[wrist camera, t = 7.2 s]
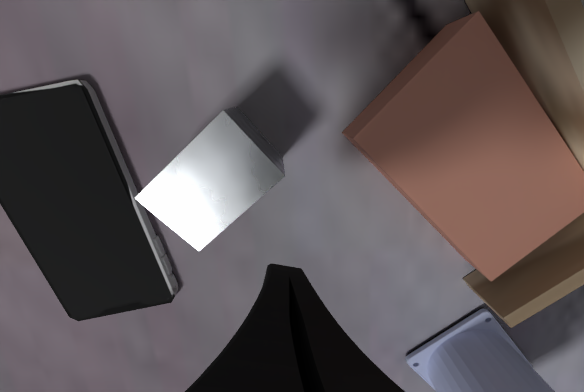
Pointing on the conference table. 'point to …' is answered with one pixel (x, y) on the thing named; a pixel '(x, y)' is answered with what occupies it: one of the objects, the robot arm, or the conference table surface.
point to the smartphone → (78, 203)
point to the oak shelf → (570, 125)
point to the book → (472, 149)
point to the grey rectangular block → (214, 179)
